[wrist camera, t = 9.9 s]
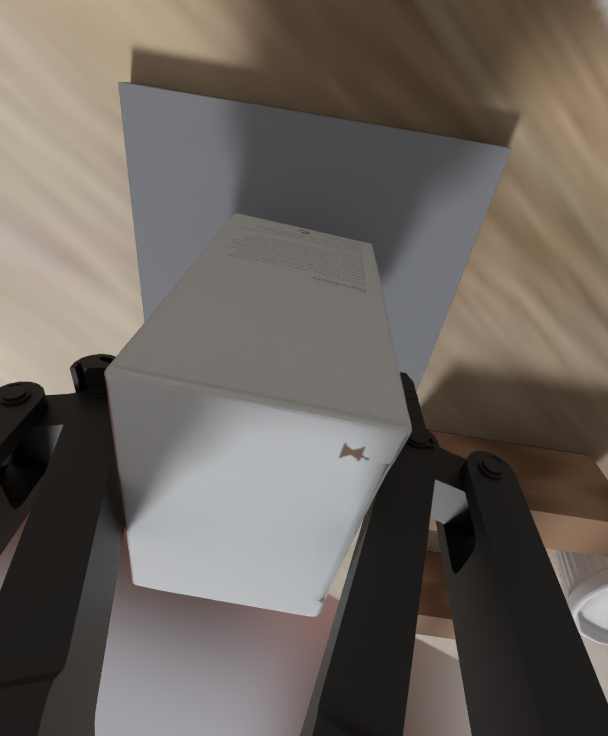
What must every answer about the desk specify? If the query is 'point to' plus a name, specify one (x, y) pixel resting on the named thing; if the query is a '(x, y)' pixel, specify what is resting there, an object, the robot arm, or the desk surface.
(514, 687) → the robot arm
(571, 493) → the walnut crossbar stand
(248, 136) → the slate grey mat
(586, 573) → the ramekin
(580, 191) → the desk surface
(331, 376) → the small box
